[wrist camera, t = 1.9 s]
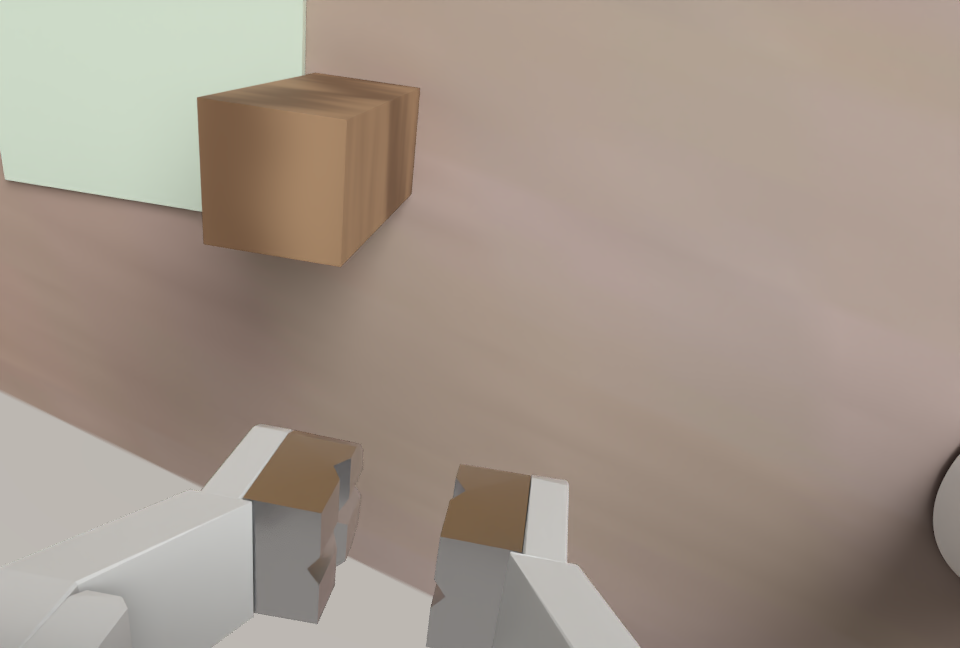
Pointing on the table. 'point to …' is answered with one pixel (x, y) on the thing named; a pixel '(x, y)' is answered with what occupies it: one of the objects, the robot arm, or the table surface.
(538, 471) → the table surface
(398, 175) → the block
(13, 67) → the mat
